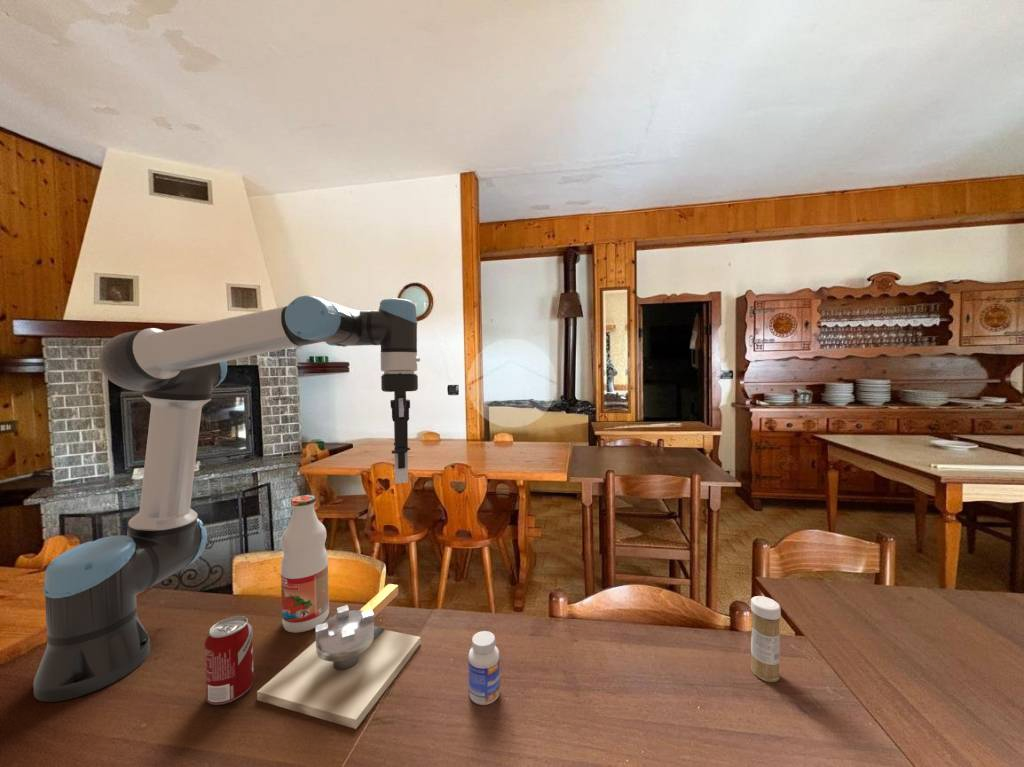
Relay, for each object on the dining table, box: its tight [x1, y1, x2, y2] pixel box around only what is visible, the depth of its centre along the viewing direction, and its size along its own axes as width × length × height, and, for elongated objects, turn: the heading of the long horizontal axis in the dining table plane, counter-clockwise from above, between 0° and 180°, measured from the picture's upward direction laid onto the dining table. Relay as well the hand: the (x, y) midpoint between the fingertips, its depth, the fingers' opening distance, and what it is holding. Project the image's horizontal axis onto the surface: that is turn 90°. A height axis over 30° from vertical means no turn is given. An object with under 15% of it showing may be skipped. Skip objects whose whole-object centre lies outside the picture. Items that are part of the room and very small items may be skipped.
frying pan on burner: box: [314, 583, 399, 662], centre depth 79 cm, size 21×10×4 cm, turn 164°
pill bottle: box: [467, 630, 501, 706], centre depth 68 cm, size 5×5×10 cm
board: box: [256, 625, 422, 730], centre depth 74 cm, size 20×20×5 cm
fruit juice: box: [280, 494, 330, 633], centre depth 89 cm, size 9×9×28 cm
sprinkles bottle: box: [750, 595, 782, 683], centre depth 72 cm, size 5×5×13 cm
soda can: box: [204, 615, 255, 706], centre depth 69 cm, size 7×7×12 cm
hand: (401, 482), depth 85 cm, fingers closed
